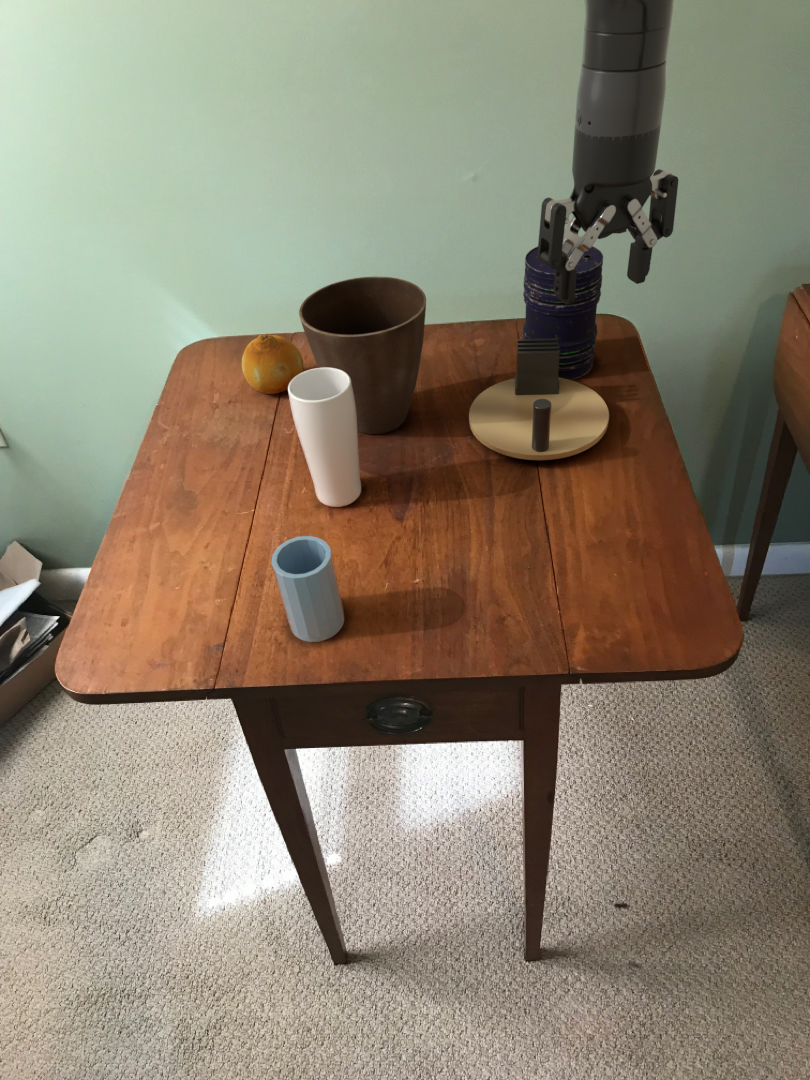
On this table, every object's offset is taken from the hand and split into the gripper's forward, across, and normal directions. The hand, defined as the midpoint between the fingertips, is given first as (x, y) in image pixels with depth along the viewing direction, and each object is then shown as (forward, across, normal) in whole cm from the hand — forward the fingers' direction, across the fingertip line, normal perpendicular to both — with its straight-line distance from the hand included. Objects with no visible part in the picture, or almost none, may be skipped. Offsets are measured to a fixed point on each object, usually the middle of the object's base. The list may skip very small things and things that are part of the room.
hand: (601, 290), depth 80 cm
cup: (+19, -39, -12) cm, 45 cm away
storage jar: (+20, +7, +17) cm, 27 cm away
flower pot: (+20, -20, +18) cm, 33 cm away
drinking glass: (+20, -30, +5) cm, 36 cm away
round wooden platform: (+18, -4, +5) cm, 19 cm away
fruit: (+20, -30, +32) cm, 48 cm away
